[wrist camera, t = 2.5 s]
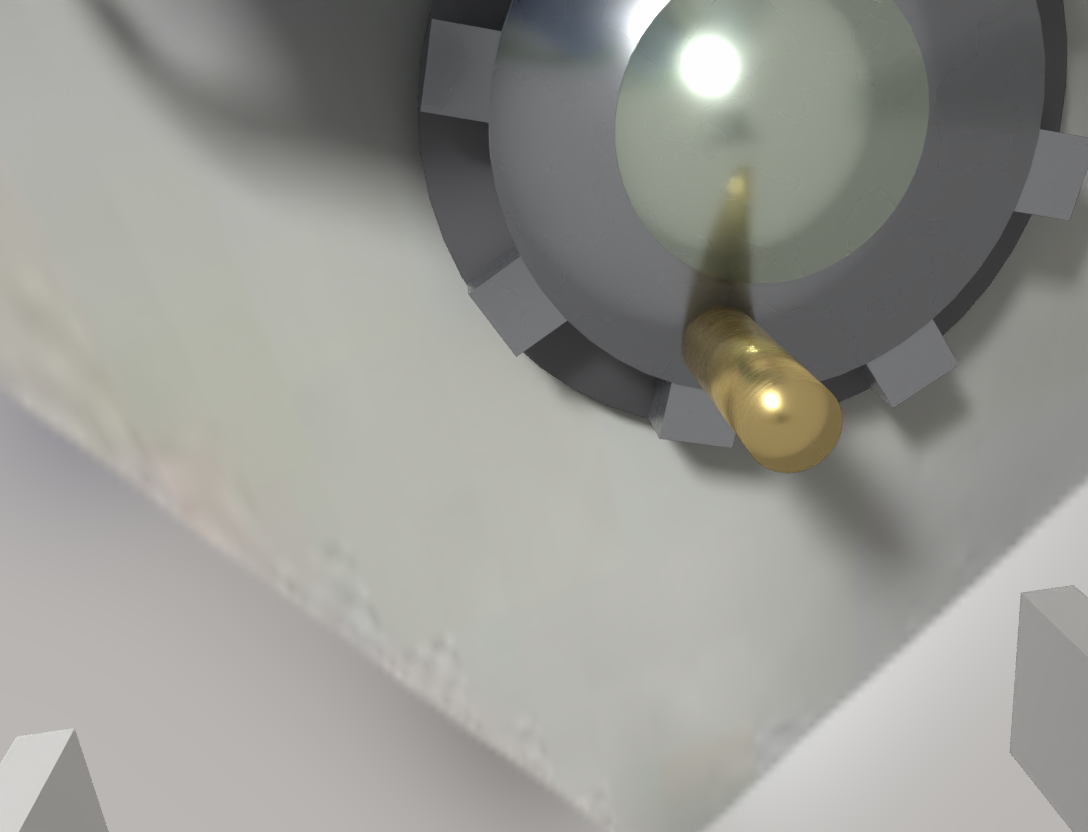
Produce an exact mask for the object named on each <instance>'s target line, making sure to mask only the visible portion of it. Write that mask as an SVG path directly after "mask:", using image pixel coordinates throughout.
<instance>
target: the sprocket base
mask: <svg viewBox="0 0 1088 832" xmlns="http://www.w3.org/2000/svg"><path fill="white" fill-rule="evenodd" d="M509 1H510V0H434V2H433V6H432V9H431V12H430V15H429V20H428V25H427V31H426V36H425V41H424V47H423V52H422V58H421V64H420V81H419V98H418V118H419V133H420V147H421V157H422V162H423V167H424V172H425V177H426V182H427V187H428V192H429V198H430V201H431V204H432V207H433V210H434V213H435V216H436V219H437V222H438V225H439V228H440V231H441V233H442V236H443V239H444V241H445V243H446V246H447V248H448V250H449V252H450V254H451V256H452V258H453V260H454V262H455V264H456V266H457V268H458V270H459V272H460V274H461V276H462V278H463V279H464V281H465V282H466V284H467V285H468V283H467V280H468V279H470V278H471V277H473V276H474V275H475V274H477V273H478V272H479V271H481V270H482V269H484V268H485V267H486V266H488V265H489V264H490V263H492V262H493V261H495V260H496V259H497V258H499V257H500V256H501V255H503V254H504V253H505V252H507V251H508V250H510V249H511V248H512V247H514V246H515V242H514V240H513V238H512V236H511V234H510V232H509V229H508V227H507V224H506V221H505V218H504V214H503V211H502V208H501V205H500V202H499V198H498V195H497V192H496V189H495V185H494V181H493V175H492V170H491V164H490V158H489V152H488V141H487V122H481V121H475V120H469V119H463V118H457V117H451V116H445V115H439V114H433V113H427V112H421V103H422V95H423V87H424V79H425V71H426V63H427V55H428V46H429V38H430V30H431V22H432V19H436V20H441V21H447V22H452V23H458V24H463V25H469V26H474V27H480V28H485V29H491V30H496V31H499V30H500V27H501V24H502V21H503V18H504V15H505V12H506V9H507V6H508V4H509ZM1036 2H1037V6H1038V11H1039V15H1040V19H1041V26H1042V35H1043V44H1044V54H1045V90H1044V103H1043V111H1042V118H1041V125H1040V129H1042V130H1048V131H1053V132H1059V130H1060V124H1061V117H1062V110H1063V103H1064V96H1065V89H1066V65H1067V36H1066V26H1065V16H1064V5H1063V0H1036ZM1031 215H1032V214H1028V213H1022V212H1016V211H1014V212H1013V213H1012V215H1011V217H1010V219H1009V221H1008V223H1007V225H1006V227H1005V229H1004V231H1003V233H1002V235H1001V237H1000V238H999V240H998V242H997V243H996V245H995V246H994V248H993V249H992V251H991V252H990V254H989V255H988V257H987V258H986V260H985V261H984V263H983V264H982V266H981V267H980V269H979V270H978V271H977V272H976V274H975V275H974V276H973V277H972V278H971V279H970V281H969V282H968V283H967V284H966V285H965V287H964V288H963V289H962V290H961V291H960V293H959V294H958V295H957V296H956V297H955V298H954V299H953V300H952V301H951V302H950V303H949V304H948V305H947V306H946V307H945V308H944V309H943V310H942V311H941V312H940V313H939V314H937V315H936V316H935V317H934V318H933V321H934V322H935V324H936V326H937V328H938V329H939V331H940V333H941V334H942V336H943V335H944V334H945V333H946V332H947V331H948V330H949V329H950V328H951V327H952V326H954V325H955V324H956V323H957V322H958V321H959V320H960V319H961V318H962V317H963V316H964V315H965V313H966V312H967V311H968V310H969V309H970V308H971V306H972V305H973V304H974V303H975V302H976V300H977V299H978V298H979V297H980V296H981V295H982V293H983V292H984V291H985V290H986V289H987V287H988V286H989V285H990V284H991V282H992V281H993V279H994V278H995V276H996V275H997V273H998V272H999V270H1000V269H1001V267H1002V266H1003V264H1004V263H1005V261H1006V260H1007V258H1008V257H1009V255H1010V254H1011V252H1012V251H1013V249H1014V247H1015V245H1016V243H1017V241H1018V240H1019V238H1020V236H1021V234H1022V232H1023V230H1024V228H1025V226H1026V224H1027V222H1028V221H1029V219H1030V217H1031ZM524 353H525V354H526V355H527V356H528V357H529V358H531V359H532V360H533V361H534V362H535V363H536V364H537V365H539V366H540V367H541V368H542V369H544V370H545V371H547V372H548V373H550V374H551V375H553V376H554V377H556V378H557V379H559V380H561V381H562V382H564V383H565V384H567V385H568V386H570V387H571V388H573V389H575V390H577V391H579V392H581V393H583V394H585V395H587V396H589V397H591V398H593V399H595V400H597V401H599V402H601V403H603V404H605V405H608V406H611V407H614V408H617V409H620V410H623V411H626V412H629V413H632V414H635V415H638V416H641V417H644V418H649V415H650V410H651V405H652V401H653V396H654V391H655V387H656V382H657V377H654V376H651V375H648V374H646V373H644V372H642V371H640V370H638V369H636V368H634V367H632V366H630V365H628V364H626V363H624V362H622V361H620V360H618V359H616V358H615V357H613V356H612V355H610V354H609V353H607V352H606V351H604V350H603V349H601V348H600V347H599V346H597V345H596V344H594V343H593V342H591V341H590V340H589V339H587V338H586V337H585V336H584V335H583V334H582V333H581V332H580V331H579V330H577V329H576V328H575V327H574V326H573V325H572V324H571V323H570V322H569V321H568V320H567V321H566V322H565V323H563V324H562V325H560V326H559V327H558V328H556V329H555V330H553V331H552V332H551V333H549V334H548V335H546V336H545V337H544V338H542V339H541V340H539V341H538V342H537V343H535V344H534V345H532V346H531V347H530V348H528V349H527V350H525V351H524ZM820 382H821V383H822V384H823V385H824V386H825V387H826V388H827V389H828V390H829V391H830V392H831V393H832V394H833V395H834V396H835V398H836V399H837V401H838V402H840V401H843V400H845V399H847V398H849V397H851V396H854V395H856V394H858V393H860V392H863V391H865V390H867V389H869V388H870V387H869V385H868V383H867V382H866V380H865V379H864V377H863V375H862V374H861V372H860V371H859V369H858V367H857V368H855V369H853V370H851V371H848V372H846V373H844V374H842V375H839V376H836V377H833V378H830V379H826V380H823V381H820Z"/></svg>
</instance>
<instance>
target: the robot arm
mask: <svg viewBox="0 0 1088 832" xmlns="http://www.w3.org/2000/svg"><path fill="white" fill-rule="evenodd" d="M1010 753H1011V754H1012V756H1013V757H1014V758H1015V760H1016V761H1017V762H1018V763H1019V765H1020V766H1021V767H1022V768H1023V770H1024V771H1025V772H1026V773H1027V775H1028V776H1029V777H1030V778H1031V780H1032V781H1033V782H1034V784H1035V785H1036V786H1037V787H1038V789H1039V790H1040V791H1041V792H1042V793H1043V795H1044V796H1045V797H1046V799H1047V800H1048V801H1049V802H1050V804H1051V805H1052V806H1053V807H1054V809H1055V810H1056V811H1057V813H1058V814H1059V815H1060V816H1061V818H1062V819H1063V820H1064V821H1065V823H1066V824H1067V825H1068V826H1069V828H1070V829H1071V830H1072V831H1073V832H1088V597H1087V596H1085V595H1084V594H1083V593H1082V592H1081V591H1080V590H1078V589H1077V588H1076V587H1075V586H1074V585H1072V586H1065V587H1059V588H1052V589H1044V590H1037V591H1030V592H1023V593H1021V599H1020V613H1019V627H1018V643H1017V656H1016V671H1015V685H1014V699H1013V713H1012V728H1011V742H1010ZM0 832H108V829H107V826H106V823H105V820H104V817H103V814H102V811H101V807H100V804H99V801H98V799H97V795H96V792H95V789H94V786H93V783H92V780H91V777H90V774H89V771H88V768H87V765H86V762H85V759H84V755H83V753H82V750H81V746H80V744H79V740H78V737H77V734H76V731H75V729H66V730H60V731H53V732H46V733H39V734H32V735H25V736H18V737H16V739H15V740H14V742H13V743H12V745H11V747H10V748H9V750H8V752H7V753H6V755H5V757H4V758H3V760H2V762H1V763H0Z"/></svg>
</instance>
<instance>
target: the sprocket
mask: <svg viewBox="0 0 1088 832" xmlns="http://www.w3.org/2000/svg"><path fill="white" fill-rule="evenodd" d="M1044 90H1045V54H1044V44H1043V35H1042V26H1041V19H1040V15H1039V11H1038V6H1037V2H1036V0H510V1H509V4H508V6H507V9H506V12H505V15H504V18H503V21H502V24H501V27H500V30H499V31H496V30H491V29H485V28H480V27H474V26H469V25H463V24H458V23H452V22H447V21H441V20H436V19H432V22H431V30H430V38H429V46H428V55H427V63H426V71H425V79H424V87H423V95H422V103H421V112H427V113H433V114H439V115H445V116H451V117H457V118H463V119H469V120H475V121H481V122H487V141H488V152H489V158H490V164H491V170H492V175H493V181H494V185H495V189H496V192H497V195H498V198H499V202H500V205H501V208H502V211H503V214H504V218H505V221H506V224H507V227H508V229H509V232H510V234H511V236H512V238H513V240H514V242H515V246H514V247H512V248H511V249H510V250H508V251H507V252H505V253H504V254H503V255H501V256H500V257H499V258H497V259H496V260H495V261H493V262H492V263H490V264H489V265H488V266H486V267H485V268H484V269H482V270H481V271H479V272H478V273H477V274H475V275H474V276H473V277H471V278H470V279H468V280H467V283H468V294H469V296H470V297H471V298H472V299H473V301H474V302H475V303H476V305H477V306H478V307H479V309H480V310H481V311H482V312H483V314H484V315H485V316H486V318H487V319H488V320H489V322H490V323H491V324H492V326H493V327H494V328H495V329H496V331H497V332H498V333H499V335H500V336H501V337H502V339H503V340H504V341H505V343H506V344H507V345H508V346H509V348H510V349H511V350H512V352H513V353H514V354H515V356H516V357H517V356H518V355H520V354H521V353H523V352H524V351H525V350H527V349H528V348H530V347H531V346H532V345H534V344H535V343H537V342H538V341H539V340H541V339H542V338H544V337H545V336H546V335H548V334H549V333H551V332H552V331H553V330H555V329H556V328H558V327H559V326H560V325H562V324H563V323H565V322H566V321H567V320H568V321H569V322H570V323H571V324H572V325H573V326H574V327H575V328H576V329H577V330H579V331H580V332H581V333H582V334H583V335H584V336H585V337H586V338H587V339H589V340H590V341H591V342H593V343H594V344H596V345H597V346H599V347H600V348H601V349H603V350H604V351H606V352H607V353H609V354H610V355H612V356H613V357H615V358H616V359H618V360H620V361H622V362H624V363H626V364H628V365H630V366H632V367H634V368H636V369H638V370H640V371H642V372H644V373H646V374H648V375H651V376H654V377H657V382H656V387H655V391H654V396H653V401H652V405H651V410H650V415H649V420H650V422H651V424H652V426H653V428H654V430H655V431H656V433H657V435H658V437H659V439H666V440H674V441H682V442H690V443H698V444H706V445H713V446H721V447H729V448H732V447H733V443H734V439H735V435H736V434H737V436H738V437H739V438H740V440H741V441H742V443H743V444H744V445H745V447H746V448H747V449H748V451H749V452H750V453H751V455H752V456H753V457H754V459H755V460H756V461H757V462H758V463H760V464H761V465H762V466H764V467H766V468H768V469H770V470H773V471H776V472H781V473H795V472H800V471H803V470H807V469H809V468H811V467H813V466H815V465H817V464H818V463H820V462H821V461H822V460H823V459H825V458H826V457H827V456H828V455H829V453H830V452H831V451H832V450H833V448H834V447H835V445H836V443H837V441H838V439H839V437H840V434H841V430H842V412H841V408H840V405H839V403H838V401H837V399H836V398H835V396H834V395H833V394H832V393H831V392H830V391H829V390H828V389H827V388H826V387H825V386H824V385H823V384H822V383H821V382H820V381H823V380H826V379H830V378H833V377H836V376H839V375H842V374H844V373H846V372H848V371H851V370H853V369H855V368H857V367H858V369H859V371H860V372H861V374H862V375H863V377H864V379H865V380H866V382H867V383H868V385H869V387H870V388H871V390H872V391H874V392H875V393H876V394H877V395H878V396H880V397H881V398H882V399H883V400H884V401H886V402H887V403H888V404H889V405H891V406H892V407H893V408H894V407H896V406H897V405H899V404H900V403H902V402H903V401H905V400H906V399H908V398H909V397H911V396H912V395H914V394H915V393H917V392H918V391H920V390H921V389H923V388H924V387H926V386H927V385H929V384H930V383H932V382H933V381H935V380H936V379H938V378H939V377H941V376H942V375H944V374H945V373H947V372H948V371H950V370H951V369H953V368H954V367H956V366H957V365H959V364H958V362H957V360H956V359H955V357H954V355H953V354H952V352H951V350H950V348H949V347H948V345H947V343H946V341H945V340H944V338H943V336H942V334H941V333H940V331H939V329H938V328H937V326H936V324H935V322H934V321H933V318H934V317H935V316H936V315H937V314H939V313H940V312H941V311H942V310H943V309H944V308H945V307H946V306H947V305H948V304H949V303H950V302H951V301H952V300H953V299H954V298H955V297H956V296H957V295H958V294H959V293H960V291H961V290H962V289H963V288H964V287H965V285H966V284H967V283H968V282H969V281H970V279H971V278H972V277H973V276H974V275H975V274H976V272H977V271H978V270H979V269H980V267H981V266H982V264H983V263H984V261H985V260H986V258H987V257H988V255H989V254H990V252H991V251H992V249H993V248H994V246H995V245H996V243H997V242H998V240H999V238H1000V237H1001V235H1002V233H1003V231H1004V229H1005V227H1006V225H1007V223H1008V221H1009V219H1010V217H1011V215H1012V213H1013V212H1014V211H1016V212H1022V213H1028V214H1034V215H1040V216H1046V217H1052V218H1058V219H1064V220H1070V218H1071V215H1072V212H1073V209H1074V206H1075V203H1076V200H1077V197H1078V194H1079V191H1080V188H1081V185H1082V182H1083V179H1084V176H1085V174H1086V171H1087V168H1088V138H1086V137H1081V136H1075V135H1070V134H1064V133H1059V132H1053V131H1048V130H1042V129H1040V125H1041V118H1042V111H1043V103H1044Z"/></svg>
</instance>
